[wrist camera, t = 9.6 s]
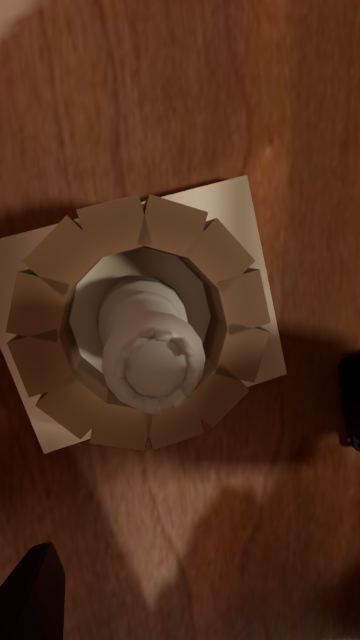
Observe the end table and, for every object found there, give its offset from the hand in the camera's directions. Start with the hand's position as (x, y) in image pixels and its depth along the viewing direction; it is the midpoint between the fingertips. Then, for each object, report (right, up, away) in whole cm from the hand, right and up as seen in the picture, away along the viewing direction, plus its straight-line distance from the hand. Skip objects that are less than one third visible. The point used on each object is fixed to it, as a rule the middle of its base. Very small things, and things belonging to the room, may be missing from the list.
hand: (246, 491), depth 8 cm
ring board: (-4, +4, +11) cm, 12 cm away
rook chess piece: (-4, +4, +10) cm, 11 cm away
